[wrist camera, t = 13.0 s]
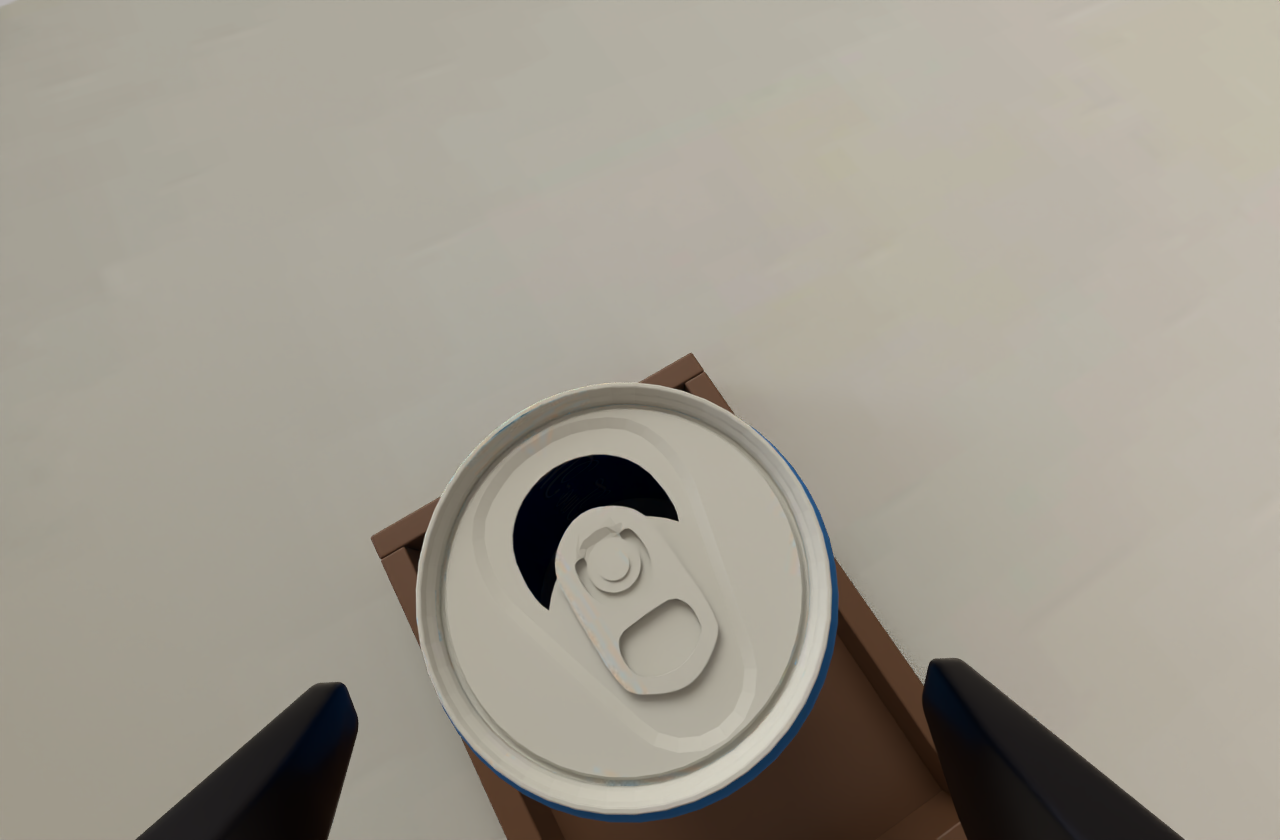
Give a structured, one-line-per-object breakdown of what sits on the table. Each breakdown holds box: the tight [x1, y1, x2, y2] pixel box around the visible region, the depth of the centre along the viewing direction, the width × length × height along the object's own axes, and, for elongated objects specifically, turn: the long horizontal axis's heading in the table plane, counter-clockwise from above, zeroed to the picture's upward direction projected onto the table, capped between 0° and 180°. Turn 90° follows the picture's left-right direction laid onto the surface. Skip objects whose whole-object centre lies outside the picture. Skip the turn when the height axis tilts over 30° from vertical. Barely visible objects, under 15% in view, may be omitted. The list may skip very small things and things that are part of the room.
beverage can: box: [416, 383, 839, 823], centre depth 14 cm, size 6×6×12 cm
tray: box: [371, 353, 967, 840], centre depth 18 cm, size 16×12×3 cm
